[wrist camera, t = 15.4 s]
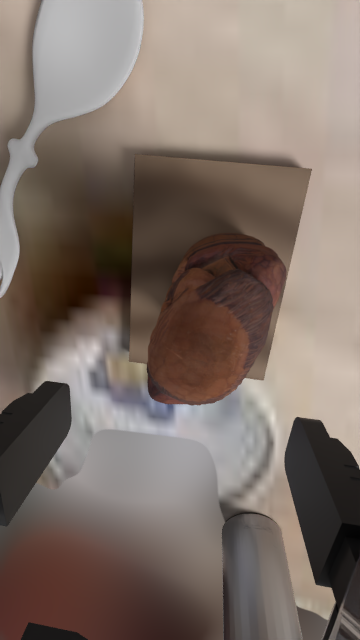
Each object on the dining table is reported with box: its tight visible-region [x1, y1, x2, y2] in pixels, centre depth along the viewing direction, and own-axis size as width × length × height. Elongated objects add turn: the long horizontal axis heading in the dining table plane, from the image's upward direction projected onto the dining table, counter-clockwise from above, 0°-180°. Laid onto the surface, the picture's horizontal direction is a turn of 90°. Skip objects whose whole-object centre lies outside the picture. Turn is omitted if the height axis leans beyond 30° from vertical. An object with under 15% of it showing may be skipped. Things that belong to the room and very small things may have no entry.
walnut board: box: [129, 154, 312, 380], centre depth 31 cm, size 22×16×2 cm
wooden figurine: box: [147, 233, 287, 405], centre depth 22 cm, size 12×6×18 cm, turn 156°
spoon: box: [0, 0, 144, 298], centre depth 28 cm, size 9×32×4 cm, turn 142°
